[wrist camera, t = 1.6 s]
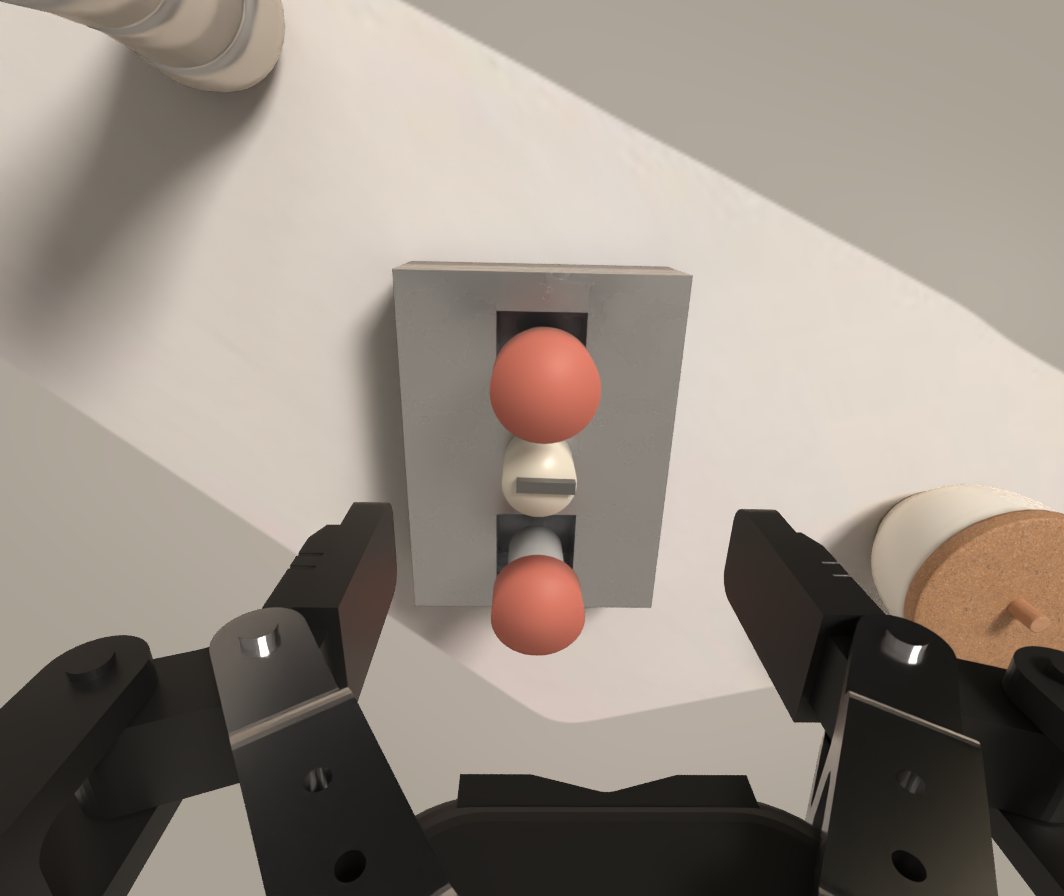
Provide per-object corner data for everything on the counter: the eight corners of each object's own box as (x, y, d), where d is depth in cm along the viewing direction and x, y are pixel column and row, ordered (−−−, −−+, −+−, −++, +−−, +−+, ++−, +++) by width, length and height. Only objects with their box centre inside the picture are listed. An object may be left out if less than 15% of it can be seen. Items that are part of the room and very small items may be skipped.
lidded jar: (872, 449, 36) (985, 524, 27) (1033, 467, 36) (1194, 546, 27) (819, 590, 40) (903, 695, 31) (964, 604, 40) (1086, 711, 31)
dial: (503, 489, 31) (500, 520, 27) (504, 426, 29) (502, 451, 26) (569, 491, 31) (575, 523, 27) (574, 429, 29) (580, 454, 26)
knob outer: (496, 581, 33) (491, 655, 27) (496, 514, 31) (490, 578, 26) (572, 581, 33) (582, 655, 27) (576, 515, 31) (587, 579, 26)
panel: (428, 558, 38) (415, 605, 33) (411, 261, 31) (392, 269, 26) (635, 560, 38) (651, 607, 34) (667, 266, 31) (692, 275, 26)
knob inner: (496, 399, 29) (489, 443, 23) (496, 310, 27) (489, 335, 21) (582, 400, 29) (597, 444, 23) (588, 312, 27) (605, 337, 22)
